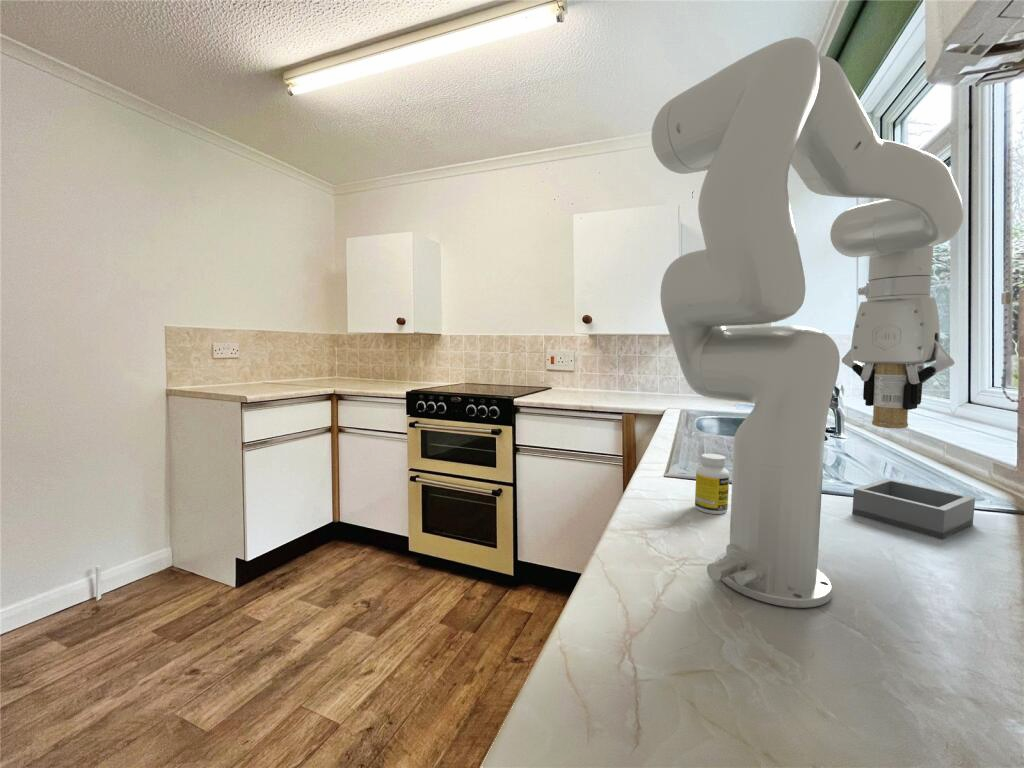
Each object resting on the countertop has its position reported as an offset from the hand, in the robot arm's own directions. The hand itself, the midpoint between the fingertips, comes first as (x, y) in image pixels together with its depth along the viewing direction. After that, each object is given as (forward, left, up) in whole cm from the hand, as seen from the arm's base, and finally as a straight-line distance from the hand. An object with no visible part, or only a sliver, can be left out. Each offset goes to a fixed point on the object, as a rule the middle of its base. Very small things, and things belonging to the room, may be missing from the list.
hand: (890, 405), depth 73 cm
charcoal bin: (+7, -1, -20) cm, 21 cm away
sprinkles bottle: (0, 0, -4) cm, 4 cm away
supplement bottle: (-18, +18, -20) cm, 33 cm away
